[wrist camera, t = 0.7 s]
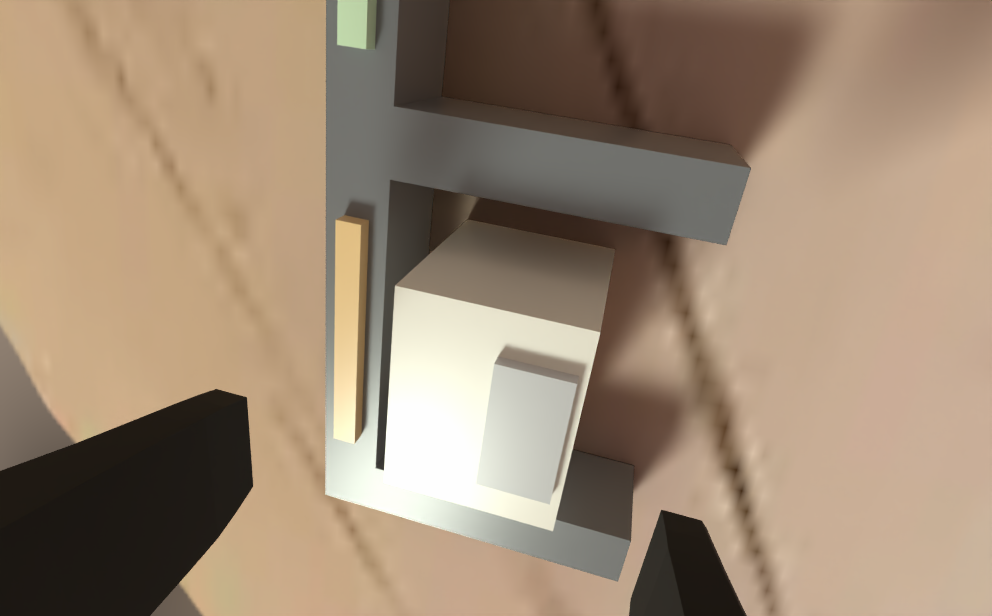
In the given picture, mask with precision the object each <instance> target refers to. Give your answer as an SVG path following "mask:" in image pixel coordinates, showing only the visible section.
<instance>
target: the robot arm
mask: <svg viewBox="0 0 992 616" xmlns="http://www.w3.org/2000/svg"><path fill="white" fill-rule="evenodd" d="M252 487H253V477H252V463H251V449H250V435H249V421H248V407H247V397H243V396H240V395H236V394H232V393H229V392H225V391H221V390H218V389H215V390H212V391H209V392H206V393H203V394H200V395H198V396H195V397H192V398H189V399H187V400H184V401H182V402H179V403H176V404H174V405H171V406H169V407H166V408H164V409H161V410H159V411H156V412H154V413H151V414H149V415H146V416H144V417H141V418H139V419H136V420H134V421H131V422H129V423H126V424H124V425H121V426H119V427H116V428H114V429H111V430H109V431H106V432H104V433H101V434H98V435H96V436H93V437H91V438H88V439H86V440H83V441H81V442H78V443H76V444H73V445H71V446H68V447H65V448H62V449H60V450H57V451H54V452H51V453H49V454H46V455H43V456H41V457H38V458H35V459H32V460H30V461H27V462H24V463H21V464H18V465H16V466H13V467H10V468H7V469H5V470H2V471H0V616H150V615H151V614H152V613H153V612H154V611H155V609H156V608H157V607H158V606H159V605H160V604H161V603H162V601H163V600H164V599H165V598H166V597H167V596H168V595H169V594H170V592H171V591H172V590H173V589H174V588H175V587H176V586H177V585H178V583H179V582H180V581H181V580H182V579H183V578H184V577H185V576H186V574H187V573H188V572H189V571H190V570H191V569H192V567H193V566H194V565H195V564H196V563H197V562H198V561H199V559H200V558H201V557H202V556H203V555H204V554H205V553H206V551H207V550H208V549H209V548H210V547H211V545H212V544H213V543H214V542H215V541H216V540H217V538H218V537H219V536H220V534H221V533H222V532H223V530H224V529H225V527H226V526H227V524H228V523H229V522H230V520H231V519H232V517H233V516H234V515H235V513H236V512H237V510H238V509H239V507H240V506H241V504H242V503H243V501H244V499H245V498H246V496H247V495H248V493H249V492H250V490H251V489H252ZM629 616H747V615H746V613H745V611H744V609H743V607H742V605H741V603H740V601H739V599H738V597H737V595H736V593H735V591H734V588H733V586H732V584H731V582H730V580H729V578H728V576H727V573H726V571H725V569H724V567H723V565H722V562H721V560H720V558H719V556H718V553H717V551H716V549H715V547H714V544H713V542H712V540H711V538H710V535H709V533H708V531H707V528H706V527H705V525H704V524H703V522H702V521H701V520H697V519H694V518H690V517H686V516H683V515H679V514H675V513H672V512H668V511H664V510H661V512H660V515H659V518H658V521H657V524H656V527H655V530H654V533H653V536H652V539H651V542H650V545H649V547H648V550H647V553H646V556H645V559H644V562H643V565H642V568H641V571H640V574H639V577H638V579H637V582H636V585H635V588H634V591H633V594H632V597H631V602H630V613H629Z"/></svg>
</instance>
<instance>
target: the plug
mask: <svg viewBox="0 0 992 616" xmlns="http://www.w3.org/2000/svg"><path fill="white" fill-rule="evenodd" d="M614 254H615V249H611V248H607V247H602V246H597V245H592V244H587V243H582V242H577V241H572V240H567V239H562V238H557V237H552V236H547V235H543V234H538V233H533V232H528V231H523V230H518V229H513V228H508V227H503V226H498V225H493V224H488V223H483V222H479V221H474V220H469V219H467V220H466V221H465V222H464V223H463V224H462V225H461V226H460V227H459V228H458V229H456V230H455V231H454V232H453V233H452V234H451V235H450V236H449V237H448V238H447V239H445V240H444V241H443V242H442V243H441V244H440V245H439V246H438V247H437V248H436V249H435V250H433V251H432V252H431V253H430V254H429V255H428V256H427V257H426V258H425V259H424V260H422V261H421V262H420V263H419V264H418V265H417V266H416V267H415V268H414V269H413V270H412V271H410V272H409V273H408V274H407V275H406V276H405V277H404V278H403V279H402V280H401V281H399V282H398V283H397V284H396V285H395V293H394V310H393V327H392V344H391V362H390V379H389V396H388V413H387V430H386V447H385V464H384V481H383V483H387V484H390V485H394V486H397V487H401V488H404V489H408V490H411V491H415V492H418V493H422V494H425V495H429V496H432V497H435V498H439V499H442V500H446V501H449V502H453V503H456V504H460V505H463V506H467V507H470V508H474V509H477V510H481V511H484V512H488V513H491V514H494V515H498V516H501V517H505V518H508V519H512V520H515V521H519V522H522V523H526V524H529V525H533V526H536V527H540V528H543V529H547V530H550V531H553V529H554V525H555V521H556V517H557V512H558V508H559V504H560V500H561V496H562V492H563V487H564V483H565V479H566V475H567V471H568V466H569V462H570V458H571V454H572V450H573V445H574V441H575V437H576V433H577V429H578V424H579V420H580V416H581V412H582V408H583V404H584V399H585V395H586V391H587V387H588V383H589V378H590V374H591V370H592V366H593V362H594V357H595V353H596V349H597V345H598V341H599V336H600V332H601V327H602V321H603V316H604V310H605V304H606V299H607V293H608V288H609V282H610V277H611V271H612V265H613V260H614Z"/></svg>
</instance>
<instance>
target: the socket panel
mask: <svg viewBox="0 0 992 616" xmlns="http://www.w3.org/2000/svg"><path fill="white" fill-rule="evenodd" d="M449 5H450V0H326V495H329V496H332V497H335V498H339V499H342V500H346V501H349V502H352V503H356V504H359V505H362V506H366V507H369V508H372V509H376V510H379V511H382V512H386V513H389V514H393V515H396V516H399V517H403V518H406V519H409V520H413V521H416V522H419V523H423V524H426V525H429V526H433V527H436V528H440V529H443V530H446V531H450V532H453V533H456V534H460V535H463V536H466V537H470V538H473V539H476V540H480V541H483V542H487V543H490V544H493V545H497V546H500V547H503V548H507V549H510V550H513V551H517V552H520V553H523V554H527V555H530V556H534V557H537V558H540V559H544V560H547V561H550V562H554V563H557V564H560V565H564V566H567V567H571V568H574V569H577V570H581V571H584V572H587V573H591V574H594V575H597V576H601V577H604V578H607V579H611V580H614V581H618V580H619V577H620V573H621V570H622V567H623V564H624V561H625V558H626V555H627V552H628V549H629V546H630V542H631V528H632V504H633V480H634V466H633V465H629V464H625V463H622V462H618V461H614V460H610V459H606V458H603V457H599V456H595V455H591V454H587V453H584V452H580V451H576V450H572V454H571V458H570V462H569V466H568V471H567V475H566V479H565V483H564V487H563V492H562V496H561V500H560V504H559V508H558V512H557V517H556V521H555V525H554V529H553V531H550V530H547V529H543V528H540V527H536V526H533V525H529V524H526V523H522V522H519V521H515V520H512V519H508V518H505V517H501V516H498V515H494V514H491V513H488V512H484V511H481V510H477V509H474V508H470V507H467V506H463V505H460V504H456V503H453V502H449V501H446V500H442V499H439V498H435V497H432V496H429V495H425V494H422V493H418V492H415V491H411V490H408V489H404V488H401V487H397V486H394V485H390V484H387V483H383V481H384V464H385V447H386V430H387V413H388V396H389V379H390V362H391V344H392V327H393V310H394V293H395V285H396V284H397V283H398V282H399V281H401V280H402V279H403V278H404V277H405V276H406V275H407V274H408V273H409V272H410V271H412V270H413V269H414V268H415V267H416V266H417V265H418V264H419V263H420V262H421V261H422V260H424V259H425V258H426V257H427V256H428V254H429V242H430V230H431V218H432V206H433V195H434V188H436V189H441V190H446V191H451V192H456V193H461V194H466V195H471V196H477V197H482V198H487V199H492V200H497V201H502V202H507V203H512V204H517V205H523V206H528V207H533V208H538V209H543V210H548V211H553V212H558V213H564V214H569V215H574V216H579V217H584V218H589V219H594V220H599V221H604V222H610V223H615V224H620V225H625V226H630V227H635V228H640V229H645V230H651V231H656V232H661V233H666V234H671V235H676V236H681V237H686V238H691V239H697V240H702V241H707V242H712V243H717V244H722V245H727V242H728V238H729V235H730V232H731V229H732V226H733V223H734V220H735V217H736V214H737V211H738V207H739V204H740V201H741V198H742V195H743V192H744V189H745V186H746V183H747V179H748V176H749V173H750V170H751V167H750V166H749V165H748V164H747V163H746V162H745V160H744V159H743V158H742V157H741V156H740V155H739V154H738V152H737V151H736V150H735V149H734V148H733V147H732V146H731V145H729V144H723V143H717V142H711V141H705V140H699V139H693V138H687V137H681V136H675V135H669V134H663V133H657V132H651V131H645V130H639V129H633V128H627V127H621V126H615V125H609V124H603V123H597V122H591V121H585V120H579V119H573V118H567V117H561V116H555V115H549V114H543V113H537V112H531V111H525V110H519V109H513V108H508V107H502V106H496V105H490V104H484V103H478V102H472V101H466V100H460V99H454V98H448V97H442V88H443V76H444V64H445V52H446V40H447V29H448V17H449Z"/></svg>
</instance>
